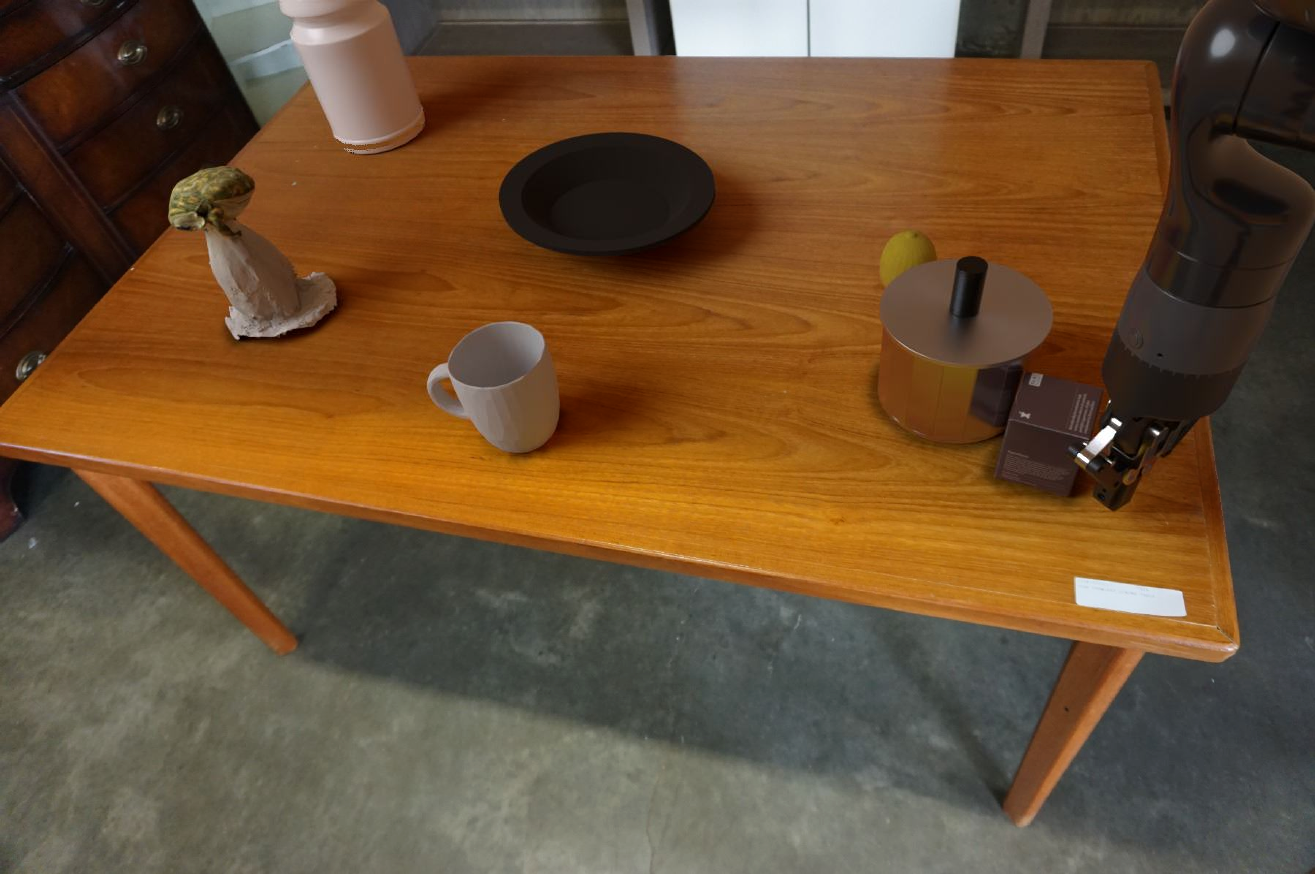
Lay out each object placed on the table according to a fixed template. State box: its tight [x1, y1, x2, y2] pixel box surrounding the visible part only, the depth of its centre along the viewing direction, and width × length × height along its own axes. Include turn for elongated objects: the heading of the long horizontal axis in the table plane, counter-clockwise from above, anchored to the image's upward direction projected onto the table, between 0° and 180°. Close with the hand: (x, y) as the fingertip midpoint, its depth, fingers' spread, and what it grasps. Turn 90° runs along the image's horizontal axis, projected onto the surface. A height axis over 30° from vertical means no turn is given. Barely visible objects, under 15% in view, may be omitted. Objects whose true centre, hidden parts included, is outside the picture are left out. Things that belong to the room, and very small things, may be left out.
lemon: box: [879, 230, 938, 289], centre depth 84 cm, size 6×6×8 cm
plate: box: [498, 131, 717, 258], centre depth 100 cm, size 28×24×6 cm
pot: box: [876, 327, 1042, 445], centre depth 74 cm, size 13×13×10 cm
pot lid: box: [878, 255, 1054, 369], centre depth 69 cm, size 14×14×6 cm
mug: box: [426, 320, 561, 454], centre depth 78 cm, size 13×9×10 cm
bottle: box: [278, 0, 426, 155], centre depth 117 cm, size 14×14×28 cm
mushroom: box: [167, 165, 338, 340], centre depth 92 cm, size 12×13×18 cm
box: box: [993, 372, 1104, 498], centre depth 68 cm, size 6×6×7 cm
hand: (1110, 499), depth 65 cm, fingers closed
